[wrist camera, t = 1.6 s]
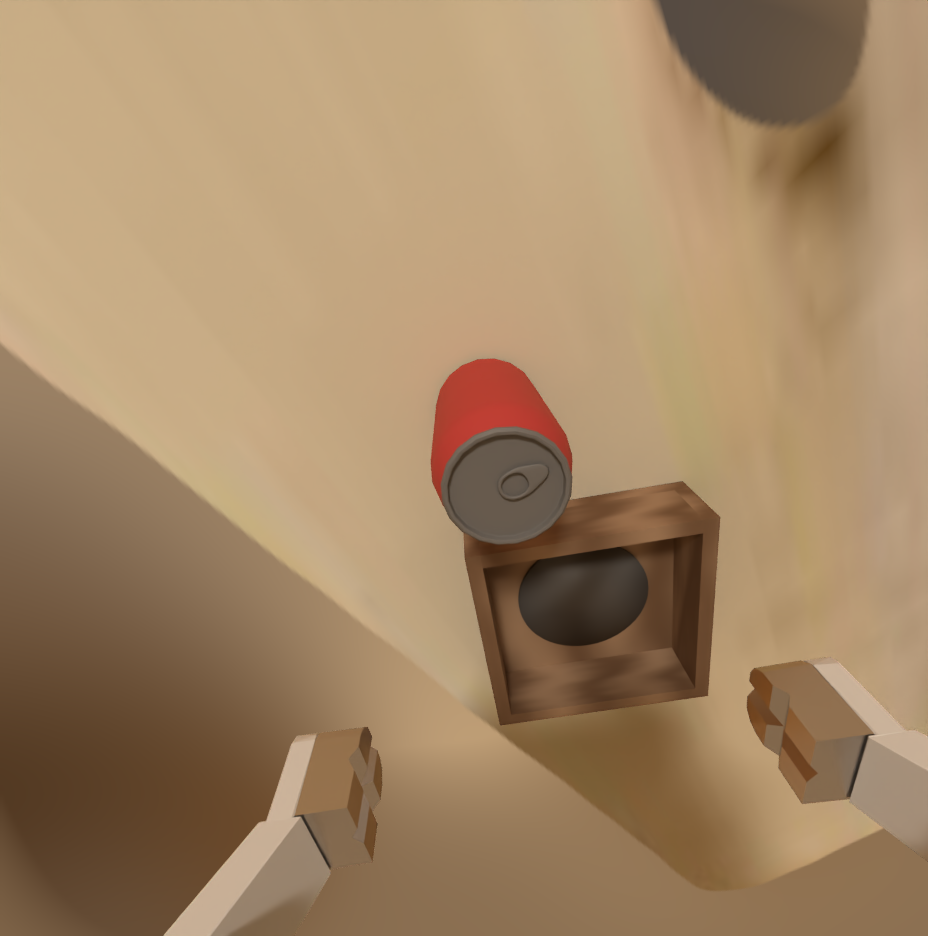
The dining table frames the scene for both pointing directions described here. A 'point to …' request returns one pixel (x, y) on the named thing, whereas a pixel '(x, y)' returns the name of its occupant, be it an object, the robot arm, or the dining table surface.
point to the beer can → (499, 454)
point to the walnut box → (600, 605)
